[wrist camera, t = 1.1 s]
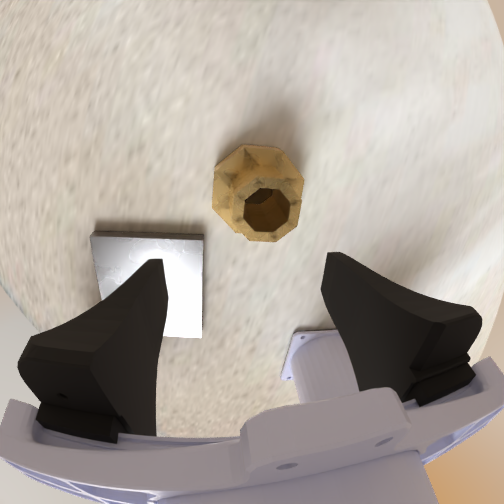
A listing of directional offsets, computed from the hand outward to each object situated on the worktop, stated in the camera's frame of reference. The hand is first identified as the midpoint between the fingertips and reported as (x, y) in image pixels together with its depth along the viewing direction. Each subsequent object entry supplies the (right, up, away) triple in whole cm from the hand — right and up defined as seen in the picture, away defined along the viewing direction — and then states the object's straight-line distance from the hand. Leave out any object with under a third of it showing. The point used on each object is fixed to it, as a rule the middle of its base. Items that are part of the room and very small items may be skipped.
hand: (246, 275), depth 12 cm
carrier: (-8, -2, +11) cm, 14 cm away
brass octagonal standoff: (0, +6, +8) cm, 10 cm away
